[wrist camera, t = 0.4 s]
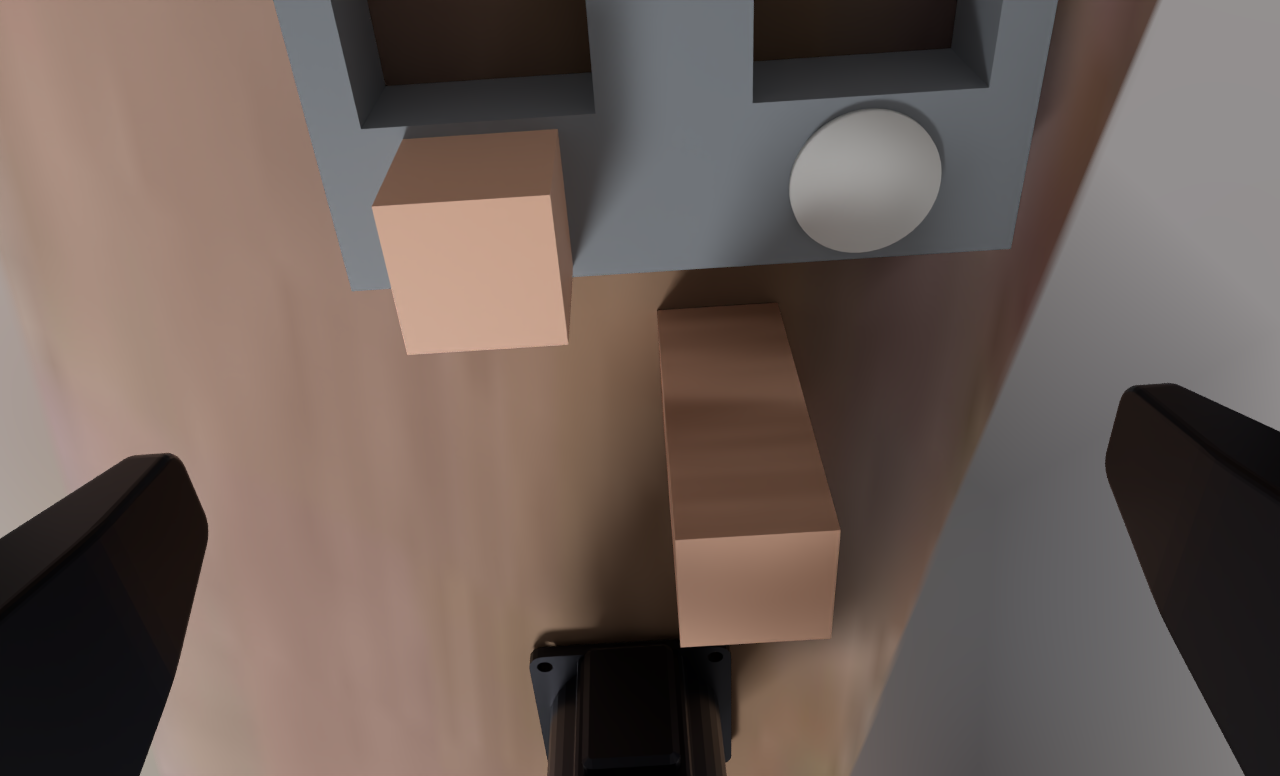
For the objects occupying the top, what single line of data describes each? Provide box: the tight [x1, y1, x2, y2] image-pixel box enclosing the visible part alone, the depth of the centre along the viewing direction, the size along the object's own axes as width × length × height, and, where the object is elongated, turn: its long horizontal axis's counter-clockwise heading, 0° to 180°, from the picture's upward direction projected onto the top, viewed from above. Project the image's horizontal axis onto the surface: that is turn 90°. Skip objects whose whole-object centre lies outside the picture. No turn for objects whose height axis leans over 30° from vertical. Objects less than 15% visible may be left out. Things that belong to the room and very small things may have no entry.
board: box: [273, 0, 1058, 355], centre depth 17 cm, size 9×14×6 cm, turn 93°
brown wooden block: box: [657, 303, 841, 647], centre depth 21 cm, size 3×3×8 cm
